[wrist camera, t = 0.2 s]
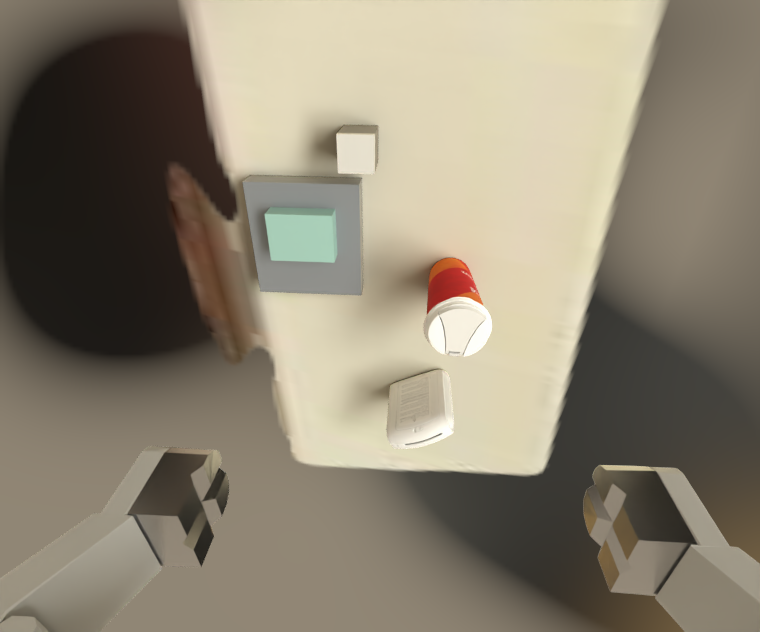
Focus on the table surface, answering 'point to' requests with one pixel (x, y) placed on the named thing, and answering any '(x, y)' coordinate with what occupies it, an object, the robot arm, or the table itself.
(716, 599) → the robot arm
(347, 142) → the plug
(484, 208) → the table surface
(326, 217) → the mint green block
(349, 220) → the socket
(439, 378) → the book
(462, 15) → the table surface
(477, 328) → the paper cup
